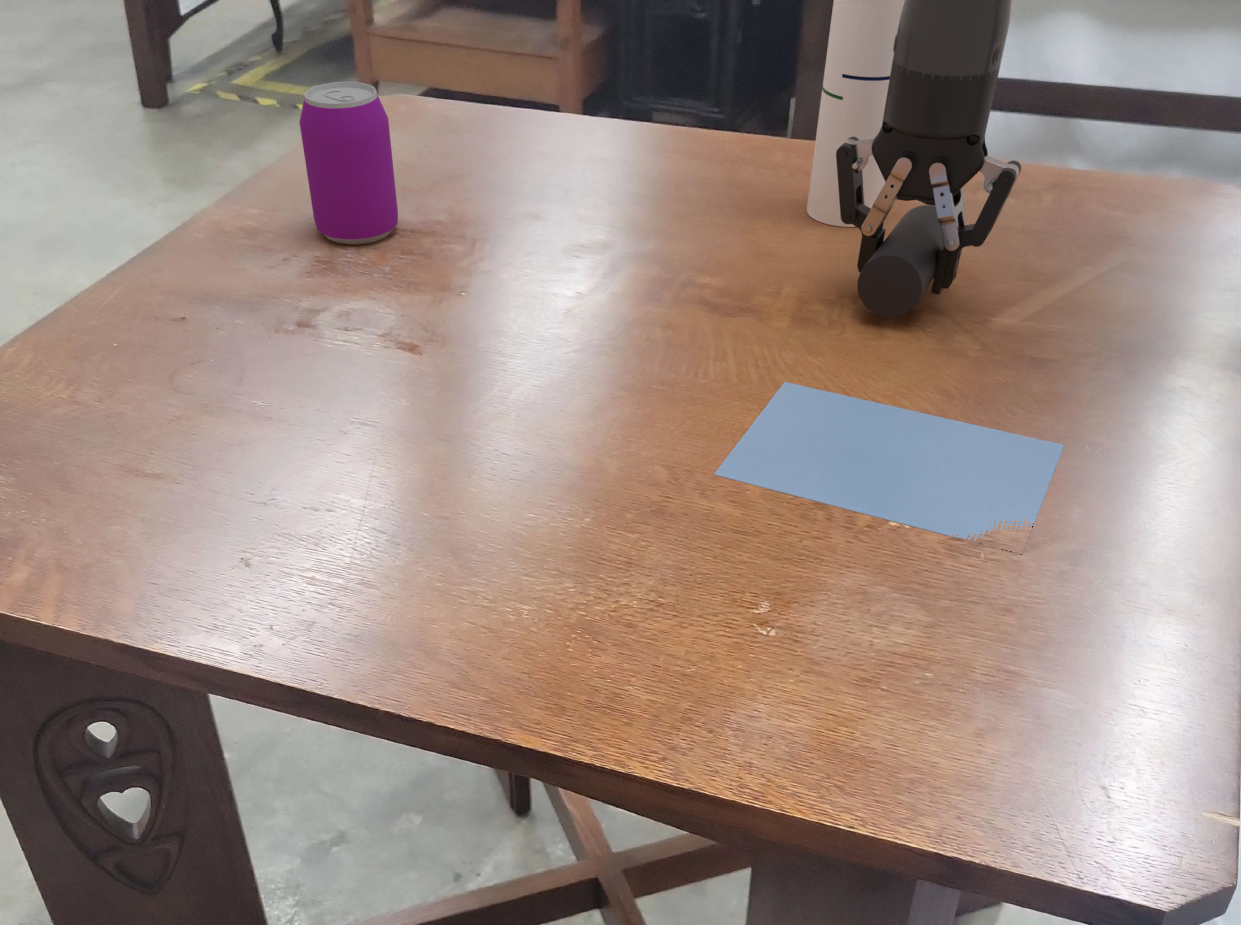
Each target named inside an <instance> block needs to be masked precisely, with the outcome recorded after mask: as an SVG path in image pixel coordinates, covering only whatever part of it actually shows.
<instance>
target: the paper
mask: <svg viewBox="0 0 1241 925" xmlns="http://www.w3.org/2000/svg"><path fill="white" fill-rule="evenodd" d="M1064 447H1065V444H1061V443H1058V442H1054V441H1053V442H1052V441H1048V440H1043V439H1040V438H1035V437H1031V436H1027V435H1021V434H1018V433H1012V432H1008V431H1005V430H1004V431H1003V430H1000V429H996V428H991V427H986V426H982V425H978V424H973V423H969V422H964V421H960V420H956V419H951V418H948V417H947V418H946V417H943V416H939V415H933V414H930V413H925V412H920V411H916V410H911V409H907V408H902V407H899V406H894V405H890V404H885V403H881V402H877V401H872V400H868V399H863V398H858V397H854V396H850V395H845V394H841V393H837V392H832V391H828V390H824V389H818V388H814V387H809V386H806V385H801V384H797V383H793V382H788V381H784V382H783V383H782V384H781V385H780V387H779V388H778V390H777V391H776V392H775V394H774V395H773V396H772V398H771V399H770V400H769V401H768V403H767V404H766V405H765V407H764V408H763V409H762V410H761V412H760V413H759V414H758V415H757V417H756V418H755V420H754V421H753V422H752V423H751V425H750V426H749V427H748V429H747V430H746V431H745V433H744V434H743V435H742V436H741V438H740V439H739V441H738V442H737V443H736V444H735V445H734V447H733V449H731V451H730V452H729V453H728V455H727V456H726V457H725V459H724V460H723V461H722V462H721V464H720V465H719V467H718V468H717V469H716V471H715V472H714V473H713V476H715V477H716V476H717V477H719V478H723V479H728V480H732V481H736V482H740V483H743V484H747V485H751V486H755V487H758V488H762V489H765V490H770V491H774V492H777V493H782V494H785V495H790V496H793V497H796V498H801V499H805V500H808V501H812V502H816V503H821V504H824V505H828V506H832V507H835V508H839V509H843V510H845V511H846V510H847V511H850V512H853V513H859V514H862V515H866V516H870V517H873V518H877V519H880V520H881V519H882V520H886V521H889V522H892V523H896V524H901V525H903V526H908V527H911V528H916V529H920V530H924V531H928V532H931V533H935V534H938V533H939V535H942V534H943V535H942V536H947V537H950V536H951V538H954V537H957V538H956V539H958V538H961V537H962V538H963V540H962V541H965V540H966V538H968V539H969V541H970V539H972V537H973V535H974V534H976V535H977V536H975V535H974V536H975V538H973V539H977V537H978V536H979V534H983V535H984V534H985V532H986V530H987V528H988V526H989V527H990V528H988V530H989V532H988V534H990V532H991V530H992V528H993V526H995V525H996V527H997V528H998V525H999V522H1000V521H1003V522H1001V523H1002V524H1000V525H1001V528H1000V530H1002V528H1003V525H1004V522H1005V521H1008V522H1006V524H1007V525H1005V526H1008V525H1009V522H1010V521H1012V522H1010V523H1011V524H1012V525H1009V526H1013V524H1014V521H1017V522H1015V523H1016V525H1014V526H1018V523H1019V521H1022V522H1020V524H1021V525H1019V526H1025V525H1026V526H1027V525H1028V521H1029V520H1030V522H1031V523H1029V524H1030V526H1031V527H1032V526H1033V527H1035V526H1034V525H1035V523H1036V521H1037V518H1038V515H1039V512H1040V510H1041V508H1042V505H1043V502H1044V499H1045V497H1046V494H1047V492H1048V489H1049V487H1050V484H1051V481H1052V479H1053V476H1054V474H1055V471H1056V469H1057V466H1058V464H1059V461H1060V458H1061V455H1062V453H1063V450H1064ZM1016 513H1017V514H1016ZM1025 517H1026V518H1025ZM1029 517H1030V518H1029ZM1005 519H1006V520H1005ZM1010 519H1011V520H1010ZM1015 519H1016V520H1015ZM1024 519H1025V521H1026V522H1027V523H1025V525H1023V523H1024ZM990 521H991V522H990ZM995 521H996V523H995ZM1033 521H1035V522H1033ZM989 523H990V524H989ZM994 523H995V525H994ZM1033 523H1034V525H1032V524H1033ZM996 527H994V528H995V529H996V530H997V528H996ZM1006 528H1007V527H1006ZM1015 528H1016V529H1017V527H1015ZM1020 528H1022V527H1020ZM995 529H993V530H995ZM1016 529H1014V530H1016ZM1025 529H1026V527H1025ZM1030 529H1031V528H1030ZM1005 530H1007V529H1005ZM1009 530H1012V527H1011V529H1009ZM1019 530H1021V529H1019ZM981 531H982V532H983V533H982V532H981ZM994 532H995V531H994ZM1015 532H1016V531H1015ZM952 534H953V535H952ZM970 534H971V535H970ZM957 535H959V536H957ZM963 535H964V536H963ZM968 535H969V536H970V538H969V537H967V536H968ZM983 535H982V537H983ZM981 539H982V538H981ZM969 541H968V542H969ZM974 541H976V540H974Z"/></svg>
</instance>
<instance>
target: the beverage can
mask: <svg viewBox="0 0 1241 925" xmlns="http://www.w3.org/2000/svg"><path fill="white" fill-rule="evenodd" d="M299 129H300V135H301V142H302V148H303V149H302V150H303V155H304V162H305V168H306V169H305V170H306V174H307V181H308V188H309V196H310V201H311V208H312V214H313V215H312V216H313V220H314V223H315V227H316V230H317V231H318V232H319V233H320V234H322V235H323V236H324V237H325V238H326V239H327V240H329V241H331V242H333V243H336V244H340V245H341V244H342V245H366V244H371V243H374V242H378V241H381V240H383V239H385V238H386V237H388V236H389V235H390V234H391V233H392V231H393V230H394V229H395V228H396V227H397V224H398V223H399V210H398V200H397V199H398V198H397V190H396V180H395V171H394V170H395V169H394V162H393V160H394V159H393V152H392V142H391V133H390V122H389V116H388V115H387V112H386V110H385V108H384V105H383V103H382V102H381V99H380V97H379V95H378V92H377V89H376V87H375V86H372V85H371V84H368V83H364V82H356V81H336V82H335V81H333V82H327V83H322V84H318V85H315V86H312V87H310V88H308V89H306V90H305V92H304V94H303V102H302V108H301V113H300V117H299Z"/></svg>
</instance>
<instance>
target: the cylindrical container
mask: <svg viewBox="0 0 1241 925" xmlns="http://www.w3.org/2000/svg"><path fill="white" fill-rule="evenodd" d="M904 1H905V0H833V3H832V10H831V11H832V12H831V19H830V26H829V32H828V33H829V35H828V41H827V42H828V43H827V51H826V57H825V65H824V72H823V80H822V89H821V95H820V104H819V110H818V118H817V125H816V126H817V127H816V135H815V142H814V151H813V157H812V164H811V173H810V181H809V189H808V195H807V204H806V213H807V215H808V216H809V217H810V218H811V219H813V220H815V221H817V222H819V223H822V224H826V225H830V226H834V227H835V226H836V227H841V228H843V227H845V228H857V227H856V226H854V225H853V224H845V223H843V222H842V220H841V215H840V201H839V188H838V175H837V161H836V151H837V150H838V148H839V147H840V146H841V145H842V144H843V143H844V142H845V141H846V140H847V139H848V138H850V137H856V138H858V139H859V140H867V139H875V137H876V136H877V135H878V133H879V131H880V129H881V127H882V122H883V116H884V110H885V104H886V98H887V92H888V86H889V79H890V74H891V67H892V61H893V55H894V51H893V47H894V41H895V36H896V34H897V31H898V25H899V20H900V16H901V12H902V8H903V5H904ZM862 175H863V191H864V205H866V206H867V207H869V208H872V206H873V204H874V202H875V200H876V198H877V196H878V195H879V193H880V191H881V189H882V188H883V186H884V184H885V180H884V178H883V176H882V174H881V171H880V169H879V167H878V165H877V163H876V161H875V159H874V157H873V155H870V156H869V161H868V164H867V165H866V166H865V167H864V168H863V169H862Z"/></svg>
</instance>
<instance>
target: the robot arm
mask: <svg viewBox="0 0 1241 925" xmlns="http://www.w3.org/2000/svg"><path fill="white" fill-rule="evenodd" d="M1012 1H1013V0H905V1H904V5H903V8H902V12H901V16H900V20H899V25H898V31H897V34H896V36H895V41H894V47H893V51H894V55H893V61H892V67H891V74H890V79H889V86H888V92H887V98H886V104H885V110H884V116H883V122H882V127H881V129H880V131H879V133H878V135H877V136H876V137H875V139H867V140H859V139H858V138H856V137H850V138H848V139H847V140H846V141H845V142H844V143H843V144H842V145H841V146H840V147H839V148H838V150H837V151H836V161H837V175H838V188H839V201H840V215H841V220H842V222H843V223H845V224H853V225H854V226H856V227H855V228H857V229H859V231H860V232H861V238H860V239H861V240H860V246H859V253H858V259H857V264H856V266H857V271H858V273H861V271H862V269H863V267H864V266H865V265H866V264H867V262H868V261H869V260H870V258H871V257H872V256H873V255H874V253H875V252H876V251H877V249H878V248H879V247H880V246H881V244H882V243H883V242H884V240H885V236H886V230H887V229H886V228H884V222H885V220H886V219H887V218H888V215H889V214H890V212H891V210H892V208H894V205H895V204H896V202H897V201H898V200H899V201H904V202H910V201H918V202H921V203H922V204H924V205H931V206H936V212H937V219H938V222H939V223H940V225H941V231H942V238H943V246H942V247H941V249H940V251H939V256H938V261H937V266H936V272H935V276H934V279H933V280H932V284H931V285H932V286H931V289H930V293H931V294H934V295H939V296H940V295H941V294H942V292H943V291H944V290H945V289H947V290H949V288H950V286H952V283H953V282H954V281H955V279H956V278H957V273H958V270H959V264H960V260H961V255H962V253H963V252H962V251H963V248H966V247H971V246H972V247H974V248H978V247H982V245H983V244H984V243H985V242H986V240H987V238H988V237H989V235H990V233H991V232H992V230H993V228H994V226H995V224H996V222H997V220H998V218H999V215H1000V214H1001V212H1002V210H1003V208H1004V206H1005V204H1006V202H1007V200H1008V198H1009V196H1010V194H1011V192H1012V189H1013V188H1014V186H1015V184H1016V182H1017V180H1018V178H1019V176H1020V174H1021V172H1022V165H1021V163H1020V162H1019V161H1017V160H1010V161H1008V162H1005V161H1002V160H999V159H997V158H994V157H992V156H990V155H989V153H988V152H989V151H988V148H987V145H986V133H987V128H988V122H989V118H990V114H991V110H992V105H993V101H994V96H995V91H996V87H997V82H998V78H999V73H1000V68H1001V65H1002V61H1003V60H1002V59H1003V56H1004V51H1005V46H1006V41H1007V39H1008V38H1007V37H1008V33H1009V27H1010V22H1011V15H1012V14H1011V11H1012V3H1013V2H1012ZM870 155H873V157H874V159H875V161H876V163H877V165H878V167H879V169H880V171H881V174H882V176H883V178H884V180H885V184H884V186H883V188H882V189H881V191H880V193H879V195H878V196H877V198H876V200H875V202H874V204H873V206H872V208H869V207H867V206H866V205H864V191H863V175H862V169H863V168H864V167H865V166H866V165H867V164H868V161H869V156H870ZM979 172H980V173H982V174H983V176H984V180H983V185H982V186H983V190H984V191H985V192H986V193H988V194H989V195H988V196H987V198H986V201H985V203H984V204H983V207H982V209H981V211H980V213H979V214H978V217H977V219H976V221H975V223H969V224H966V218H965V197H964V196H965V195H964V189H963V188H964V186H966V185H967V184H968V183H969V182H970V181H971V180H972V179H973V178H974V177H975V176H976V175H977V174H978V173H979Z"/></svg>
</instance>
